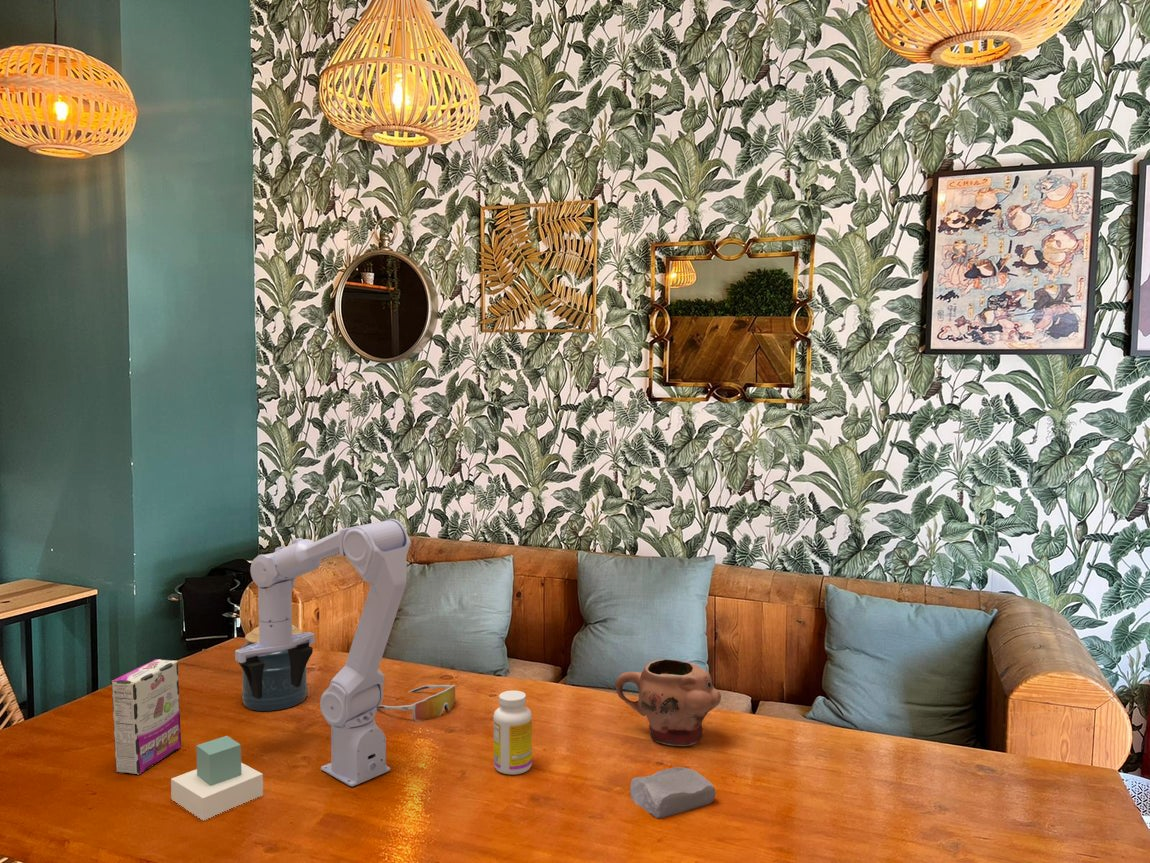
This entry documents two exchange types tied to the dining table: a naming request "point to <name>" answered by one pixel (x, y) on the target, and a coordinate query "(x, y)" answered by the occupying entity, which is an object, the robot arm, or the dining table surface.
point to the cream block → (215, 792)
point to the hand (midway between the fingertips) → (276, 691)
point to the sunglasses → (429, 703)
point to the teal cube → (218, 760)
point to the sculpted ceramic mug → (672, 699)
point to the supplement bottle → (512, 734)
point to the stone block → (672, 791)
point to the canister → (274, 680)
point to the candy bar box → (146, 715)
